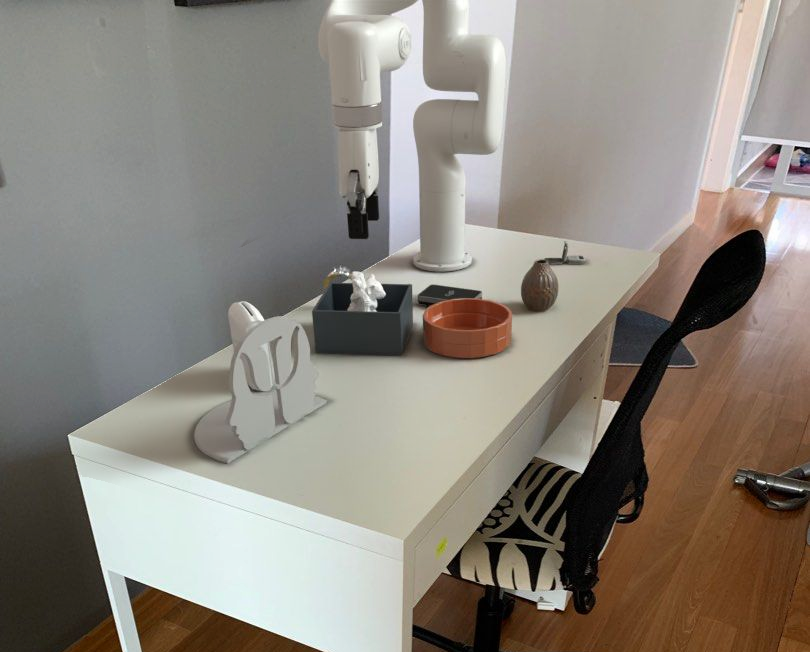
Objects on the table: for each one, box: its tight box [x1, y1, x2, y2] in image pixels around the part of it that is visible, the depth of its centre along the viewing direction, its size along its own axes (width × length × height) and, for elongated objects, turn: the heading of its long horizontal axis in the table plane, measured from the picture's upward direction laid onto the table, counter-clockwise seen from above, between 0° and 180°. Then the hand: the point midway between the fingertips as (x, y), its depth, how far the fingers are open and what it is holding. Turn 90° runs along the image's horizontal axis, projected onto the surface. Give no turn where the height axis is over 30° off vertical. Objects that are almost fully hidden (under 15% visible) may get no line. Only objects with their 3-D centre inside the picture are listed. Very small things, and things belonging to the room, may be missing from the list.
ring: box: [323, 264, 352, 292], centre depth 161 cm, size 7×3×8 cm, turn 68°
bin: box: [311, 282, 414, 357], centre depth 149 cm, size 14×15×8 cm
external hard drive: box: [416, 283, 483, 307], centre depth 164 cm, size 7×11×2 cm, turn 64°
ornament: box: [193, 315, 328, 464], centre depth 123 cm, size 22×13×17 cm, turn 145°
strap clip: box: [543, 240, 587, 265], centre depth 181 cm, size 8×3×4 cm, turn 87°
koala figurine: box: [347, 270, 386, 312], centre depth 147 cm, size 8×7×12 cm
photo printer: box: [227, 300, 275, 391], centre depth 136 cm, size 10×4×12 cm, turn 26°
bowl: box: [422, 298, 513, 359], centre depth 148 cm, size 15×15×5 cm
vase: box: [520, 259, 559, 312], centre depth 159 cm, size 7×7×9 cm
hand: (364, 229), depth 142 cm, fingers open, 9 cm apart
